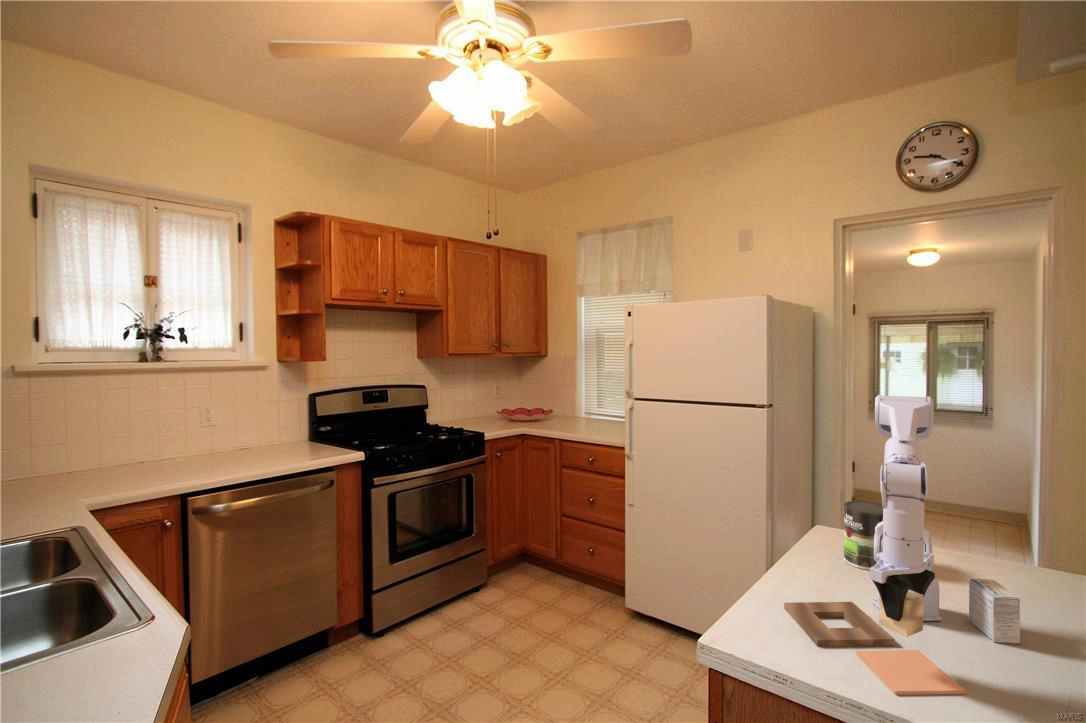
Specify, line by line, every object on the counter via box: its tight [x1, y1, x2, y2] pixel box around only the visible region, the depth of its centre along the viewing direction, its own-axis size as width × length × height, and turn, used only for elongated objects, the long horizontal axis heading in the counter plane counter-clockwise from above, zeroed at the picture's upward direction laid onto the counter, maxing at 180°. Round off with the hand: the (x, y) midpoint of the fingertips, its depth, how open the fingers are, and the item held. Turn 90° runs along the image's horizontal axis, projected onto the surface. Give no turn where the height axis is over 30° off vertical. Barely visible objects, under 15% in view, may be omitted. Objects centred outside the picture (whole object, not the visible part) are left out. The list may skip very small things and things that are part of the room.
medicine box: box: [968, 578, 1021, 645], centre depth 102 cm, size 8×4×9 cm, turn 168°
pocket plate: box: [783, 601, 896, 647], centre depth 106 cm, size 14×14×1 cm
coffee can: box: [843, 500, 884, 571], centre depth 134 cm, size 10×10×14 cm
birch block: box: [878, 590, 924, 638], centre depth 91 cm, size 4×4×6 cm
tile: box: [855, 649, 967, 696], centre depth 90 cm, size 11×11×1 cm
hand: (902, 614), depth 91 cm, fingers closed on birch block, 4 cm apart
